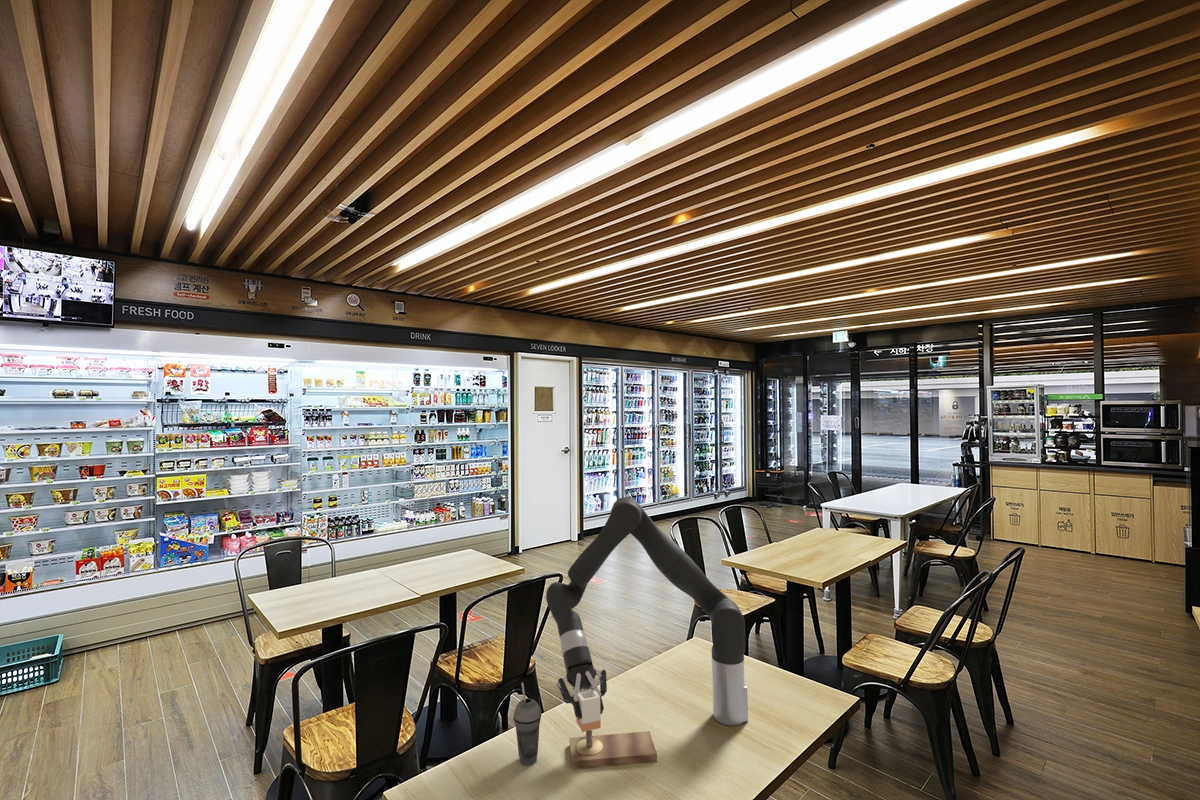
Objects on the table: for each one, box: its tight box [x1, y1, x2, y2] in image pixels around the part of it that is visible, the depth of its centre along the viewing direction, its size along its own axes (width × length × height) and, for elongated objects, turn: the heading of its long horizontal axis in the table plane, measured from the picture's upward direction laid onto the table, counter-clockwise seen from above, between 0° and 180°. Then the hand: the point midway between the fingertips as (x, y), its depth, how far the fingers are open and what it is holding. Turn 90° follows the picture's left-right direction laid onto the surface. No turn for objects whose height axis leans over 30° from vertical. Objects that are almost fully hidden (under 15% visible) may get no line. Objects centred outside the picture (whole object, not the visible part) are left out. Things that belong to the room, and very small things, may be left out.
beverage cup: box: [512, 682, 542, 767], centre depth 143 cm, size 7×7×20 cm
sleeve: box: [575, 689, 602, 733], centre depth 144 cm, size 5×5×8 cm
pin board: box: [569, 730, 658, 770], centre depth 145 cm, size 22×10×7 cm, turn 96°
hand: (590, 715), depth 143 cm, fingers closed on sleeve, 5 cm apart
